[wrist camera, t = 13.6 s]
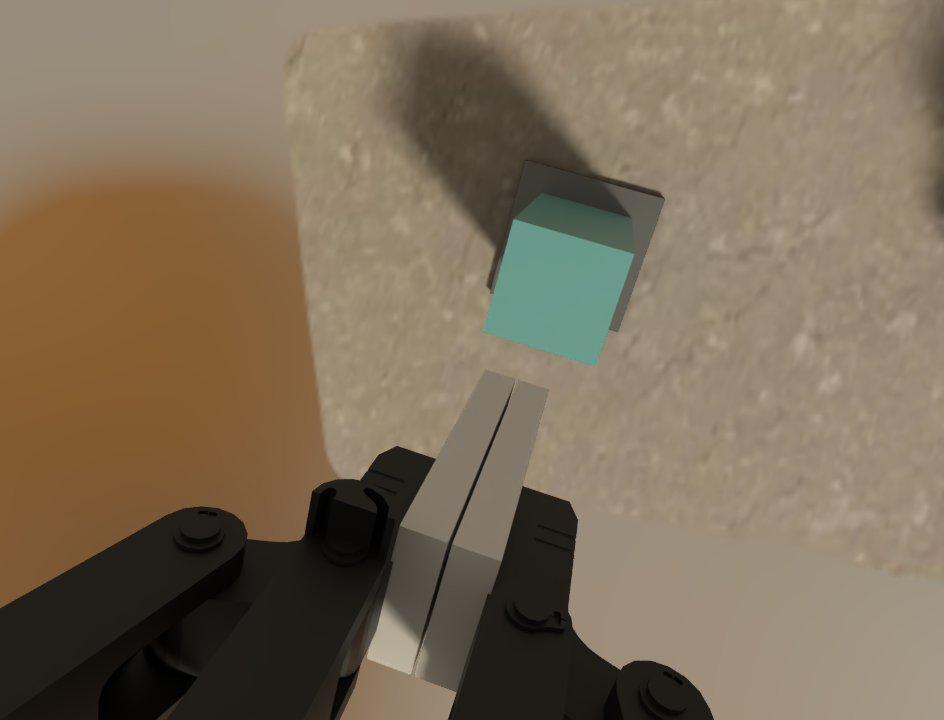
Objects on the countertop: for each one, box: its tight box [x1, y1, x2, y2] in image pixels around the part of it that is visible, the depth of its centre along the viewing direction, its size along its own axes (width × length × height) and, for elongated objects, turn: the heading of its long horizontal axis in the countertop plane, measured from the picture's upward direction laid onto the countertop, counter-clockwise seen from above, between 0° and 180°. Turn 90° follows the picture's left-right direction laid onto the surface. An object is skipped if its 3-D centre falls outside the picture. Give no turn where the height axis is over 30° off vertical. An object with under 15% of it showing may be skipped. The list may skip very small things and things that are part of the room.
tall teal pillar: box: [483, 193, 634, 366], centre depth 33 cm, size 5×5×11 cm
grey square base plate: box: [490, 160, 665, 332], centre depth 35 cm, size 8×8×7 cm
